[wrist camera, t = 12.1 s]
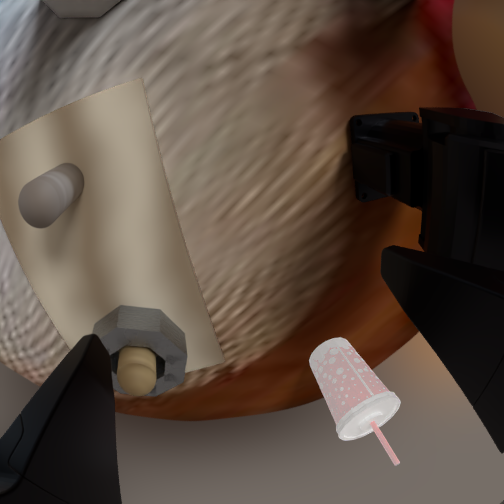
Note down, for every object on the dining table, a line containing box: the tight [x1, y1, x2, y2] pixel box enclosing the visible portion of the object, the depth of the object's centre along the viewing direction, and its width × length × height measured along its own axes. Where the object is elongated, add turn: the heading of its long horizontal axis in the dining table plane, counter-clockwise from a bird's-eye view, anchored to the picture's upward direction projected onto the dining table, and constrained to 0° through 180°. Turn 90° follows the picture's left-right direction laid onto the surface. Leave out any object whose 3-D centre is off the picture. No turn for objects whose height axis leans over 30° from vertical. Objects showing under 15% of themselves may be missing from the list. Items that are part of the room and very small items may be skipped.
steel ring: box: [92, 305, 188, 396], centre depth 20 cm, size 7×7×2 cm
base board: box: [0, 78, 225, 396], centre depth 17 cm, size 12×22×6 cm, turn 11°
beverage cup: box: [309, 338, 401, 466], centre depth 23 cm, size 6×6×14 cm
